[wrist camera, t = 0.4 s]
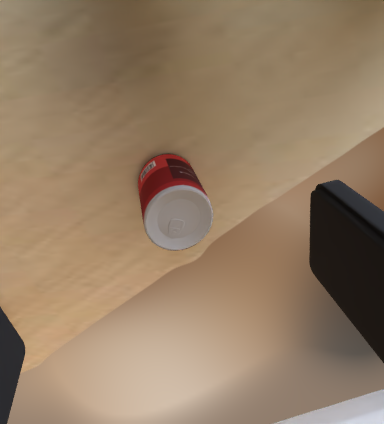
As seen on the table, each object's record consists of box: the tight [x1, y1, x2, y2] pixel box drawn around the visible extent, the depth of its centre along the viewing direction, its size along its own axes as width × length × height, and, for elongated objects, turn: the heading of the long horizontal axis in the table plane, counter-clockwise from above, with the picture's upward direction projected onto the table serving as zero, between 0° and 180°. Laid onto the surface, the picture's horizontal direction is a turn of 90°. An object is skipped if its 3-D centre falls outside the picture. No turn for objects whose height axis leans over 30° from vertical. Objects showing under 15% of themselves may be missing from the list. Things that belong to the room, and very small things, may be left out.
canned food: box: [138, 154, 213, 251], centre depth 41 cm, size 8×8×11 cm
